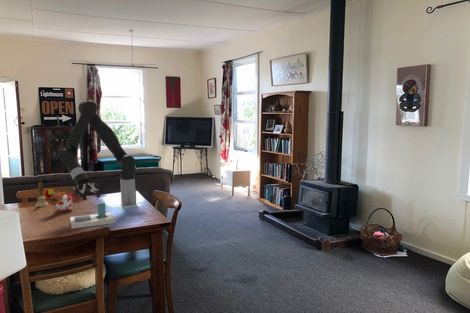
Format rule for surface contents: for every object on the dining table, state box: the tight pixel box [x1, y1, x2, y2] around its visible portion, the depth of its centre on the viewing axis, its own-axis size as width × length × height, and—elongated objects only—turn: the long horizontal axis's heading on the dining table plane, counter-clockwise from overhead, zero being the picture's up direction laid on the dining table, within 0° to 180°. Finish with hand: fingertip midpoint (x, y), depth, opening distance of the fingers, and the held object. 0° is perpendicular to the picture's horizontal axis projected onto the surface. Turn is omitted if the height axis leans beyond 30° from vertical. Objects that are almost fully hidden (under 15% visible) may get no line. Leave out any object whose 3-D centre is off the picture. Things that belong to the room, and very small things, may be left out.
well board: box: [69, 211, 116, 229], centre depth 200 cm, size 22×14×3 cm, turn 117°
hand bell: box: [34, 181, 50, 208], centre depth 238 cm, size 8×8×16 cm
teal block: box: [97, 202, 107, 219], centre depth 202 cm, size 4×4×10 cm
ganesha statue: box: [43, 187, 75, 212], centre depth 224 cm, size 14×14×20 cm
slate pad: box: [73, 214, 91, 222], centre depth 198 cm, size 8×10×1 cm
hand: (92, 198), depth 205 cm, fingers open, 8 cm apart
